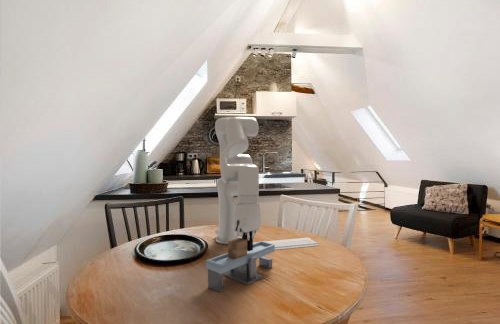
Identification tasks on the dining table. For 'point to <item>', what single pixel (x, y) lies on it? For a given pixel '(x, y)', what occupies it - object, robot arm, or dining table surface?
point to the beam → (226, 264)
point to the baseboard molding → (292, 243)
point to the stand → (239, 273)
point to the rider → (237, 248)
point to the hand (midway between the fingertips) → (248, 249)
